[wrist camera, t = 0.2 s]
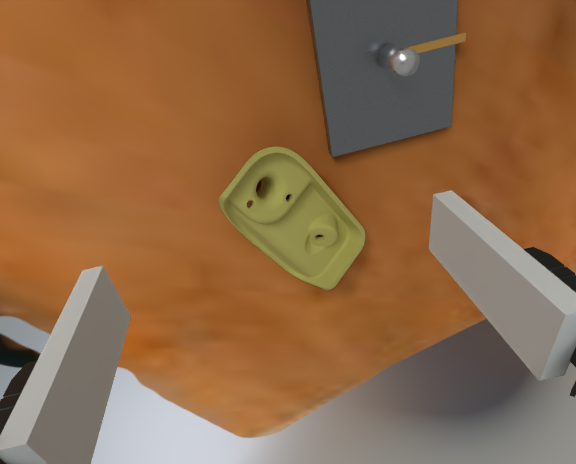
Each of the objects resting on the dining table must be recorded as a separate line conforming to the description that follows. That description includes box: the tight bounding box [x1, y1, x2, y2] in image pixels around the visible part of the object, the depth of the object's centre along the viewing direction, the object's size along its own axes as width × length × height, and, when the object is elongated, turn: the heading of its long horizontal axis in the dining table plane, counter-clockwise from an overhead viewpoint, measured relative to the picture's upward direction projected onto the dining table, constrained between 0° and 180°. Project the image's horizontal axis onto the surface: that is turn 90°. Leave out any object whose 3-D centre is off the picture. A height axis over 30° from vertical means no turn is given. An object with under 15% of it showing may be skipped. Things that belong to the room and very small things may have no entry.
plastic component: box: [219, 147, 365, 290], centre depth 44 cm, size 20×7×10 cm
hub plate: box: [307, 0, 466, 157], centre depth 35 cm, size 18×15×6 cm
